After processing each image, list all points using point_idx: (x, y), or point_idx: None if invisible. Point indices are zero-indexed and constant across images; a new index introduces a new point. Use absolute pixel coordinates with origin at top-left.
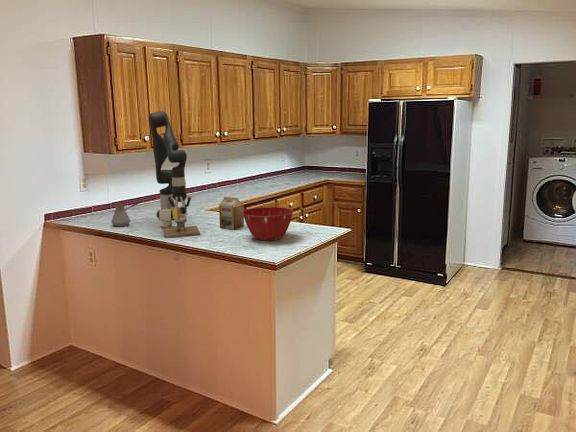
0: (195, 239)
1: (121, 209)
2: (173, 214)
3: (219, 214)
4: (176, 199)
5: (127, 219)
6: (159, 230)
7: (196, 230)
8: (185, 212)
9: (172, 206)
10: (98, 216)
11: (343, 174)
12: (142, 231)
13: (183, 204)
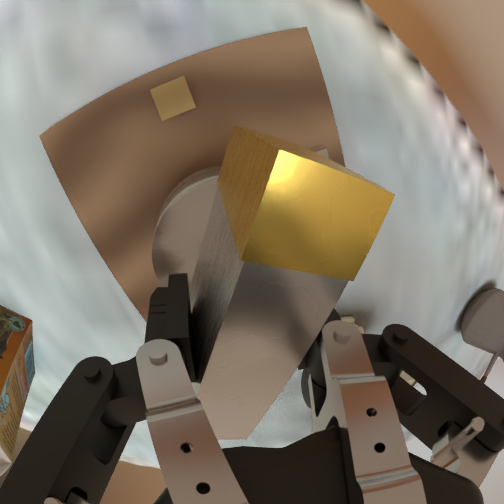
0: (58, 23)
1: None
2: (318, 155)
3: (4, 382)
4: (386, 474)
5: (479, 321)
6: (371, 252)
7: (93, 210)
8: (153, 293)
9: (392, 327)
10: (481, 364)
11: None
12: (440, 226)
13: (168, 398)
